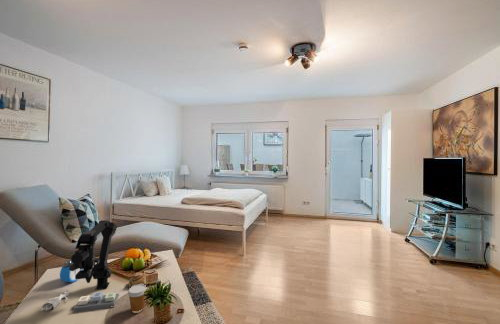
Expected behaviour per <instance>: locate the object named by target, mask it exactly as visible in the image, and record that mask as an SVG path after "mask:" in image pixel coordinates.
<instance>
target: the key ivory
mask: <svg viewBox="0 0 500 324" xmlns="http://www.w3.org/2000/svg"><path fill="white" fill-rule="evenodd" d="M90 297H91V295H84V296H83V295H82V296H80V298H79V300H78V301H77V305H84V304H88V302H89V300H90Z"/></svg>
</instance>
